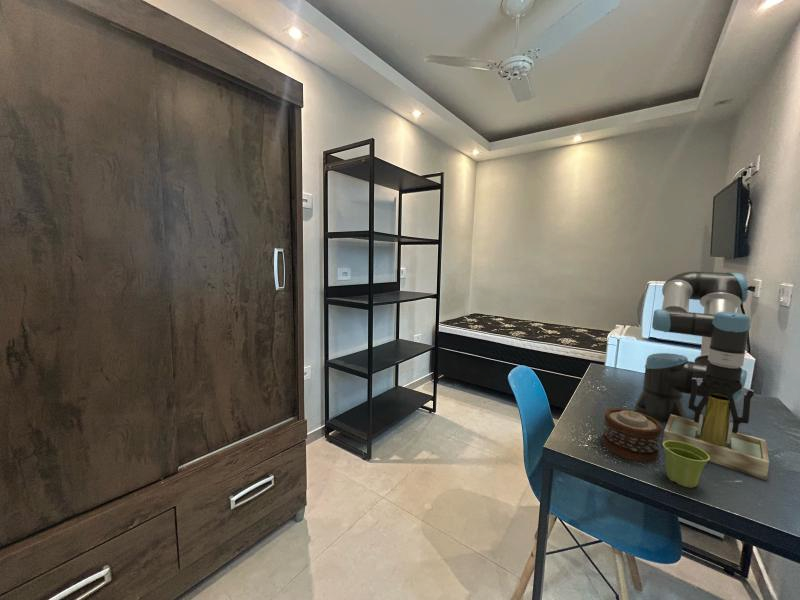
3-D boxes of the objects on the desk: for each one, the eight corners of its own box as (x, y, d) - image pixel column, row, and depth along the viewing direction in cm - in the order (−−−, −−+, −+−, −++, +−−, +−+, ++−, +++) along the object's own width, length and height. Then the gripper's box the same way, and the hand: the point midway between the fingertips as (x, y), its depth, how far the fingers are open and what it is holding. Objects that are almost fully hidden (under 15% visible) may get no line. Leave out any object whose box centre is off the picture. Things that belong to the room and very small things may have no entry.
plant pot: (652, 465, 92) (656, 437, 91) (692, 472, 90) (696, 443, 89) (668, 488, 84) (673, 456, 82) (713, 496, 81) (719, 464, 80)
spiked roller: (664, 413, 101) (663, 433, 90) (660, 446, 102) (658, 469, 91) (608, 399, 110) (601, 415, 99) (605, 429, 112) (597, 448, 100)
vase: (707, 434, 104) (713, 391, 102) (731, 444, 98) (738, 399, 96) (694, 437, 102) (700, 394, 100) (718, 448, 96) (725, 402, 94)
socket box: (662, 445, 103) (664, 430, 102) (669, 427, 114) (670, 414, 113) (766, 480, 87) (769, 462, 87) (762, 455, 98) (765, 440, 98)
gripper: (681, 359, 101) (672, 429, 104) (773, 375, 88) (759, 455, 91) (684, 354, 106) (675, 421, 109) (770, 369, 93) (757, 445, 96)
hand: (713, 436), depth 100 cm, fingers closed on vase, 6 cm apart
